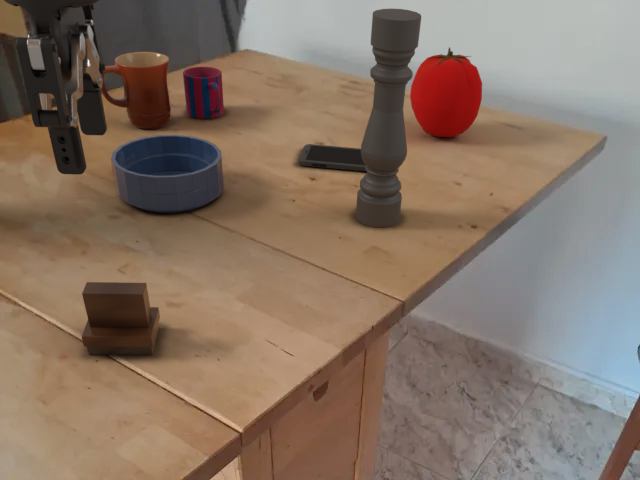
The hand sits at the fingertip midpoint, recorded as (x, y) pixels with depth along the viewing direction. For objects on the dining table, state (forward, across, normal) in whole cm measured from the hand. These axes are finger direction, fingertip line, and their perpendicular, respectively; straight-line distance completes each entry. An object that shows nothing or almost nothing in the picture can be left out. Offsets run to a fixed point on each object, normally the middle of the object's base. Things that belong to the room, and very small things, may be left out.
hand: (84, 152), depth 59 cm
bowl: (+20, -37, 0) cm, 42 cm away
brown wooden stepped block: (+20, 0, 0) cm, 20 cm away
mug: (+20, -64, -8) cm, 67 cm away
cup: (+20, -69, +3) cm, 72 cm away
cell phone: (+20, -50, +26) cm, 60 cm away
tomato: (+20, -62, +44) cm, 79 cm away
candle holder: (+20, -30, +30) cm, 47 cm away
